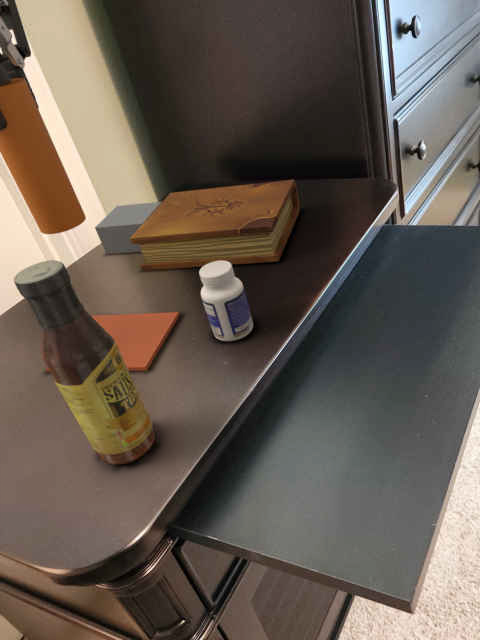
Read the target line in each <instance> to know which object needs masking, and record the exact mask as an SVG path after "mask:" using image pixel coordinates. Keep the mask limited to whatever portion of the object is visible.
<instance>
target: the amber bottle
mask: <svg viewBox="0 0 480 640" xmlns="http://www.w3.org/2000/svg"><path fill="white" fill-rule="evenodd" d="M38 107H39V106H38ZM38 107H37V105H36V103H35V101H34V98H33V96H32V94H31V92H30V89H29V87H28V85H27V82H26V80H25V79H24V78H17V79H10V78H9V76H8V74H7V72H6V69H5V67H4V65H3V64H0V110H1V112H2V114H3V117H4V119H5V121H6V123H7V127H6V128H4V129H3V130H0V155H1V156H2V159H3V160H4V163H5V164H6V166H7V169H8V170H9V172H10V174H11V177H12V179H13V180H14V182H15V185H16V186H17V189H18V190H19V192H20V194H21V196H22V198H23V200H24V202H25V203H26V206H27V208H28V210H29V212H30V214H31V216H32V218H33V220H34V221H35V224H36V226H37V227H38V229H39V231H40V232H41V234H44V235H55V234H56V235H57V234H61V233H65V232H68V231H70V230H73V229H75V228H76V227H79V226H80V225H82V224H83V223H84V222H85V221H86V220H87V219H86V218H87V217H86V214H85V212H84V210H83V208H82V205H81V203H80V200H79V198H78V196H77V194H76V191H75V190H74V187H73V184H72V183H71V180H70V178H69V176H68V174H67V170H66V169H65V167H64V165H63V161H62V159H61V158H60V155H59V152H58V151H57V148H56V146H55V144H54V142H53V139H52V138H51V137H52V136H51V135H50V132H49V130H48V127H47V126H46V123H45V121H44V119H43V117H42V115H41V111H40V109H38Z"/></svg>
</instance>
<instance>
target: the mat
mask: <svg viewBox="0 0 480 640" xmlns="http://www.w3.org/2000/svg"><path fill="white" fill-rule="evenodd" d="M91 317H92V318H93V319H94V320H95V321H96V322H97V323H98V324H99V325H100V326H101V327H102V328H103V329H104V330H105V331H106V332H107V333H108V334H109V335H110V336H111V337H112V338H114V340H115V342H116V344H117V346H118V348H119V351H120V353H121V355H122V357H123V360H124V362H125V364H126V366H127V368H128V370H129V372H147V371H148V370H149V368H150V366H151V365H152V363H153V361H154V360H155V358H156V356H157V355H158V353H159V351H160V350H161V348H162V346H163V344H164V343H165V341H166V339H167V338H168V337H169V335H170V332H171V331H172V329H173V328H174V326H175V324H176V323H177V321H178V320H179V318H180V312H179V311H172V312H150V313H149V312H148V313H147V312H146V313H127V314H126V313H125V314H124V313H123V314H122V313H121V314H102V315H101V314H98V315H91ZM45 369H46V371H47V372H48V373H51V372H50V370H49V368H48V367H47V366H46V368H45Z"/></svg>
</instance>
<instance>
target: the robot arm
mask: <svg viewBox="0 0 480 640" xmlns="http://www.w3.org/2000/svg"><path fill="white" fill-rule="evenodd" d="M11 31H12V32H11ZM12 33H13V34H12ZM26 34H27V33H26V30H25V29H24V25H23V21H22V19H21V16H20V12H19V9H18V6H17V3H16V0H0V50H1V52H0V64H3V65H4V67H5V69H6V72H7V74H8V76H9V78H10V79H17V78H24V79H25V80H26V82H27V85H28V87H29V89H30V92H31V94H32V96H33V98H34V101H35V103H36V105H37V107H38V110H40V109H39V108H40V107H39V104H38V102H37V98H36V95H35V93H34V91H33V89H32V87H31V84H30V81H29V79H28V77H27V75H26V73H25V69H24V68H25V66H26V64H25V63H26V62H25V60H26V58H30V57H31V56H32V50H31V47H30V44H29V41H28V38H27V35H26ZM13 35H14V40H15V42H16V43H13V41H12V39H13ZM6 127H7V123H6V121H5V119H4V117H3V114H2V112H1V110H0V130H3V129H4V128H6Z"/></svg>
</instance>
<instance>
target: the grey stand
mask: <svg viewBox="0 0 480 640" xmlns="http://www.w3.org/2000/svg"><path fill="white" fill-rule="evenodd" d="M162 202H163V201H154V202H143V203H132V204H123V205H116V206H115V207H114V208H113V209H112V210H111V211H110V212H109V213H108V214H107V215H106V216H104V218H103V219H102V220H101V221H100V222H99V223H98V224H97V225H96V226H95V227H94V229H95V231H96V234H97V236H98V238H99V240H100V243H101V245H102V247H103V250H104V252H105V254H106V255H115V254H116V255H117V254H131V253H142V252H141V249H140V247H139V244H138V243H137V244H132V243H131V240H130V238H131V237H132V235H133V234H134V233H135V232H136V231H137V230H138V229H139V228H140V227H141V225H142V224H143V223H144V222H145V221H146V220H147V219H148V218H149V216H150V215H151V214H152V213H153V212H154V211H155V210H156V209H157V208H158V206H159V205H160V204H161V203H162Z"/></svg>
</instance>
